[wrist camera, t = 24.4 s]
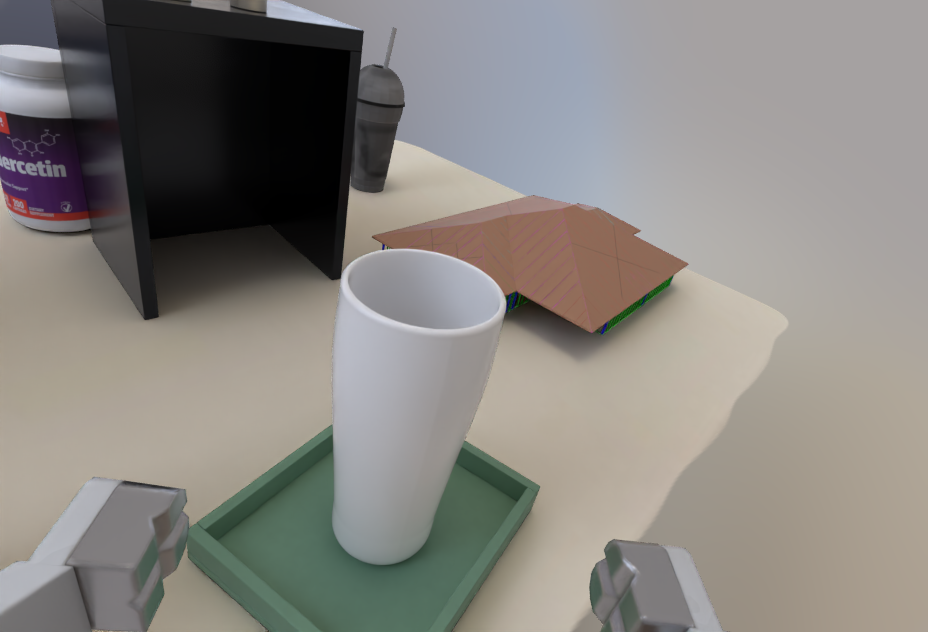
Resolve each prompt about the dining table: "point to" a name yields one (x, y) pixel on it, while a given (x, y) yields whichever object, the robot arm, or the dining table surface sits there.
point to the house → (551, 256)
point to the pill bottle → (39, 142)
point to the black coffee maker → (209, 124)
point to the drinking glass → (405, 392)
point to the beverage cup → (376, 124)
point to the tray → (334, 570)
